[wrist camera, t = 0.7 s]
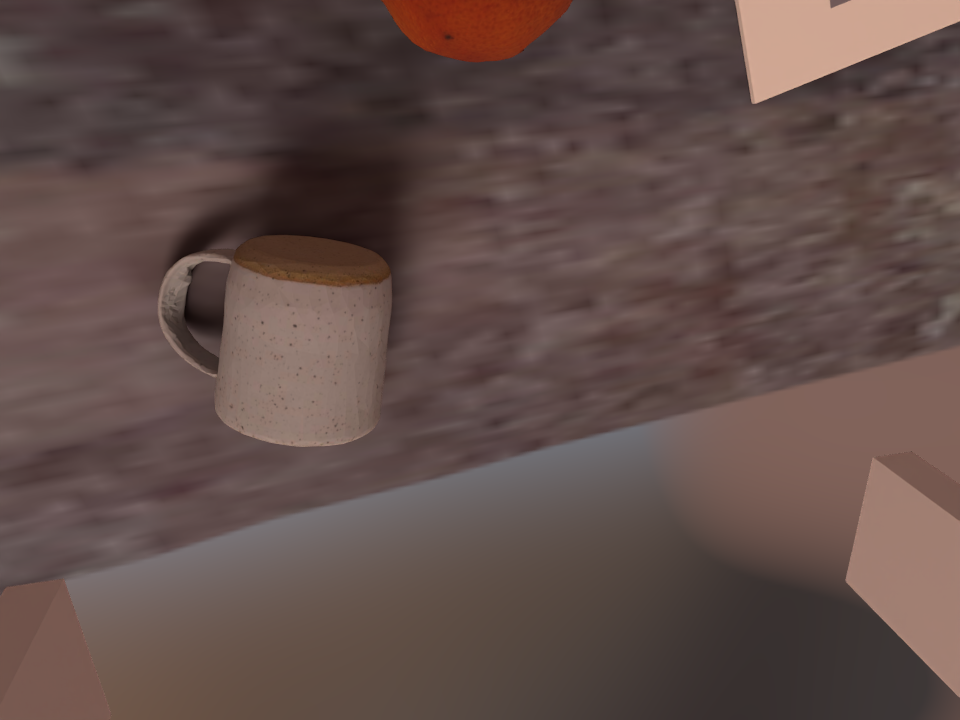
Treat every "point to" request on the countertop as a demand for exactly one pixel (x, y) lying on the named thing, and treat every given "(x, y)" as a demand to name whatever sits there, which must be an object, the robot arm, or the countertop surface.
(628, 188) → the countertop surface
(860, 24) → the paper
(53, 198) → the countertop surface
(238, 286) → the ceramic mug
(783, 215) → the countertop surface
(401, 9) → the fruit
